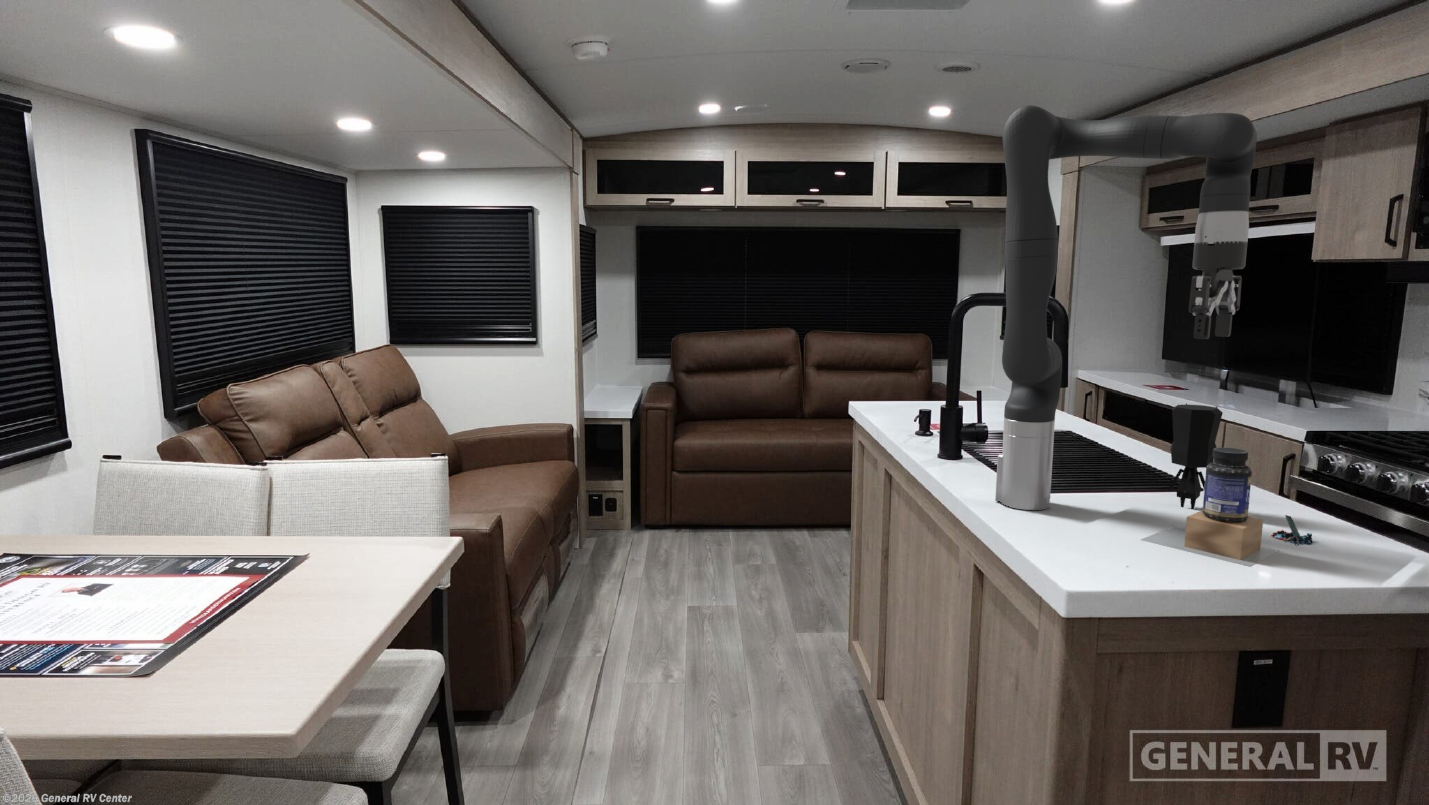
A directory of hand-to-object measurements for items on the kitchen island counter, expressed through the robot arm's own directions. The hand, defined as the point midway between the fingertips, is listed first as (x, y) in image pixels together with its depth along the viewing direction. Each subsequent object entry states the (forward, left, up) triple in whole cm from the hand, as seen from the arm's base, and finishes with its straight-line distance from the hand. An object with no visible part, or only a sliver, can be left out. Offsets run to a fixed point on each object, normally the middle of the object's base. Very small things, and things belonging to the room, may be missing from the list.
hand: (1212, 337), depth 134 cm
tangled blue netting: (+13, +4, -35) cm, 37 cm away
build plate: (+6, -10, -34) cm, 36 cm away
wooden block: (+8, -10, -33) cm, 35 cm away
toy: (-7, +14, -34) cm, 38 cm away
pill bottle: (+8, -10, -28) cm, 31 cm away
